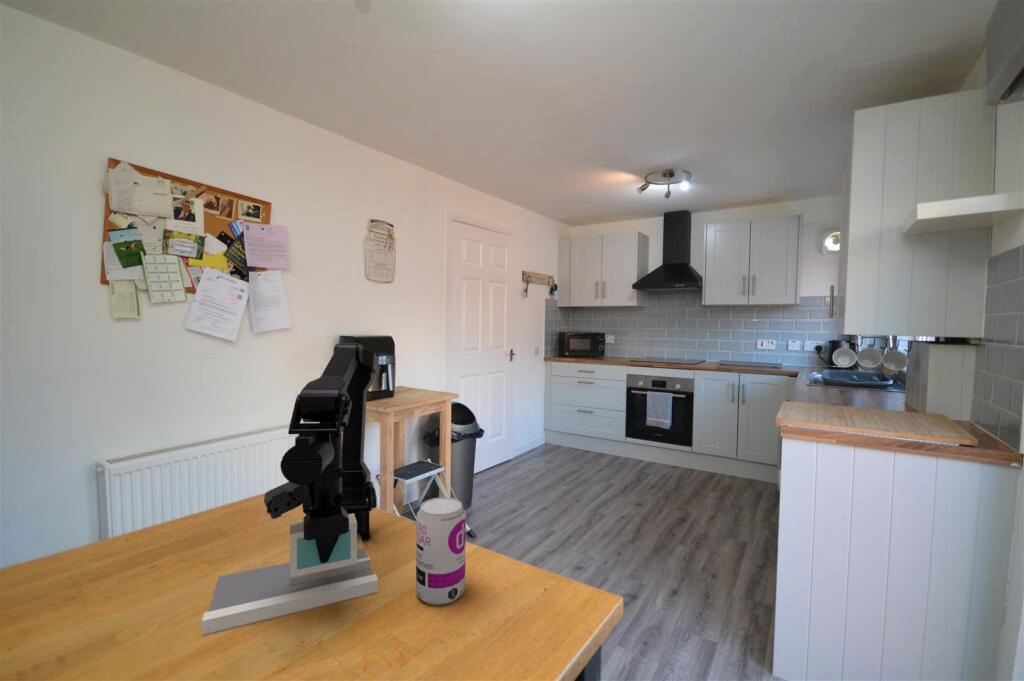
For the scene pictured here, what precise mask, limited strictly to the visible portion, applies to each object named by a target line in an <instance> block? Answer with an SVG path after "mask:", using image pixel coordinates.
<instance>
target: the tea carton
mask: <svg viewBox="0 0 1024 681" xmlns="http://www.w3.org/2000/svg"><path fill="white" fill-rule="evenodd" d="M348 518H349V532H347V533H346V534H341V535H340V536H339V538H338V541H337V543H336V545H335V547H334V549H333V551H332V554H331V556H330V558H329V560H328V562H326V563H321V562H320V558H319V554H318V550H317V546H316V542H315V539H313V540H304V532H303V521H299V522H294V523H293V522H291V523H290V524H289V562H290V578H293V577H297V576H302V575H307V574H311V573H316V572H321V571H325V570H330V569H335V568H340V567H344V566H349V565H354V564H357V549H358V535H357V521H356V518H355V515H354V513H352V514H348Z"/></svg>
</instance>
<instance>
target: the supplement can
mask: <svg viewBox="0 0 1024 681" xmlns="http://www.w3.org/2000/svg"><path fill="white" fill-rule="evenodd" d="M466 517H467V514H466V511H465V508H464V507H463V504H462V502H461V501H460V500H459V499H457V498H453V497H448V496H447V497H443V496H442V497H435V498H430V499H427V500H425V501H423V502H421V504H420V506H419V510H418V511H417V513H416V520H415V521H416V523H415V524H416V529H415V530H416V531H415V532H416V536H415V538H416V542H415V544H416V546H415V550H416V551H415V552H416V553H415V554H416V555H415V558H416V559H415V560H416V564H415V567H416V568H415V592H416V593H415V594H416V595H417V596H418V598H419V599H420V600H422V602H424V603H426V604H428V605H433V606H444V605H448V604H451V603H453V602H455V601H457V600H458V598H459V597H460V596H462V595H463V594H464V592H465V588H466V550H467V549H466V542H467V541H466V539H467V538H466V537H467V536H466V532H467V530H466V529H467V528H466V526H467V521H466V520H467V518H466Z"/></svg>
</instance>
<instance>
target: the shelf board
mask: <svg viewBox="0 0 1024 681" xmlns="http://www.w3.org/2000/svg"><path fill="white" fill-rule="evenodd" d="M377 593H379V579H378V576H377V573H373V572H372V568H371V557H370V556H368V555H367V552H366V549H365V547H360V548H357V564H354V565H349V566H344V567H340V568H335V569H330V570H325V571H321V572H316V573H311V574H307V575H302V576H297V577H293V578H290V561H289V562H285V563H280V564H276V565H269V566H265V567H259V568H255V569H249V570H245V571H239V572H236V573H235V572H234V573H229V574H225V575H218V579H217V582H216V586H215V589H214V591H213V595H212V599H211V602H210V606H209V610H208V611H206V612H203V616H202V619H201V636H205V635H206V636H207V635H209V634H213V633H218V632H222V631H226V630H229V629H234V628H238V627H242V626H246V625H250V624H255V623H257V622H258V623H259V622H262V621H267V620H271V619H275V618H278V617H283V616H286V615H292V614H294V613H299V612H304V611H308V610H311V609H315V608H319V607H324V606H327V605H331V604H335V603H340V602H343V601H344V602H345V601H349V600H352V599H355V598H360V597H364V596H368V595H373V594H377Z"/></svg>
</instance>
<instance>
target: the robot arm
mask: <svg viewBox="0 0 1024 681" xmlns="http://www.w3.org/2000/svg"><path fill="white" fill-rule="evenodd" d="M378 371H379V358H378V356H377V354H376V352H375V351H374V350H373V351H372V350H370V349H367V348H365V347H364V346H363V345H362V344H359V343H357V342H339V343H338V344H337V343H336V344H334V348H333V354H332V356H331V357H330V359H329V361H328V363H327V365H326V366H325V368H324V370H323V372H322V373H321V375H320V377H319V378H318V377H317V378H316V379H313V380H310V381H308V383H306V385H304V387H303V388H302V389H301V390H300V392H299V393H298V394H297V396H296V398H295V401H294V407H293V409H292V415H291V419H290V422H289V427H288V431H287V432H288V435H297V436H295V439H294V445H293V446H292V447H290V448H289V449H288V450H287V451H286V452H285V453H284V455H283V456H282V458H281V461H280V471H281V473H282V476H283V477H284V478H285V480H286V481H287V482H284V483H282V484H280V485H279V486H276V487H274V488H272V489H269V490H268V491H266V492H265V494H264V498H263V503H264V506H265V508H266V513H267V514H269V516H270V518H271V519H272V520H274V519H278V518H281V517H282V515H283V514H286V513H288V512H291V511H292V510H294V509H296V508H298V507H300V506H302V513H303V514H304V515H305V516H304V517H303V521H302V522H303V532H304V540H313V539H315V542H316V546H317V550H318V554H319V558H320V562H321V563H326V562H328V560H329V558H330V556H331V554H332V551H333V549H334V547H335V545H336V543H337V541H338V538H339V536H340V535H341V534H346V533H347V532H349V518H348V514H352V513H354V515H355V518H356V521H357V536H360V539H361V542H362V541H368V540H371V539H372V535H371V533H370V512H372V511H373V509H376V508H377V507H378V497H377V491H376V488H375V486H374V482H373V481H371V479H372V478H371V476H372V475H371V474H372V473H371V471H370V470H369V468H368V466H367V464H366V462H365V460H364V458H365V456H364V455H365V441H366V440H365V436H366V415H367V396H368V395H367V394H368V391H369V390H370V388H371V387H372V386H373V384H374V382H375V380H376V374H377V373H378Z"/></svg>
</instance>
